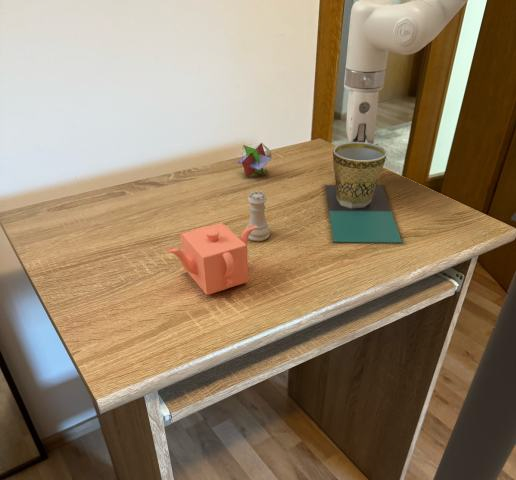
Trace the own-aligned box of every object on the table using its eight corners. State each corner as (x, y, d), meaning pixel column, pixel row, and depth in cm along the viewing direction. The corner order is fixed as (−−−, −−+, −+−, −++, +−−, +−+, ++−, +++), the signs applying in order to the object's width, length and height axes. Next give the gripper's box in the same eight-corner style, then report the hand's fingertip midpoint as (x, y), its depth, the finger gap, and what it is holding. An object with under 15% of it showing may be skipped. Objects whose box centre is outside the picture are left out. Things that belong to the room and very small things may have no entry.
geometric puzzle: (248, 176, 103) (264, 139, 101) (226, 167, 107) (241, 132, 105) (267, 187, 109) (282, 152, 107) (245, 179, 112) (259, 145, 111)
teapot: (158, 274, 79) (150, 227, 73) (240, 250, 84) (238, 204, 79) (187, 312, 71) (181, 263, 66) (275, 283, 77) (276, 235, 71)
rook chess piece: (270, 230, 90) (270, 188, 84) (270, 242, 86) (270, 199, 81) (246, 230, 90) (244, 188, 84) (245, 242, 86) (243, 199, 81)
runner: (382, 186, 103) (382, 185, 103) (402, 243, 85) (402, 242, 85) (325, 186, 104) (325, 185, 104) (333, 242, 86) (333, 241, 86)
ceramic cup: (364, 217, 92) (371, 165, 86) (319, 203, 97) (323, 153, 90) (393, 193, 100) (402, 144, 94) (351, 182, 105) (356, 134, 98)
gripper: (390, 89, 87) (375, 187, 99) (378, 69, 98) (366, 160, 110) (348, 89, 87) (338, 187, 99) (341, 69, 98) (333, 160, 111)
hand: (353, 173), depth 105 cm, fingers closed
